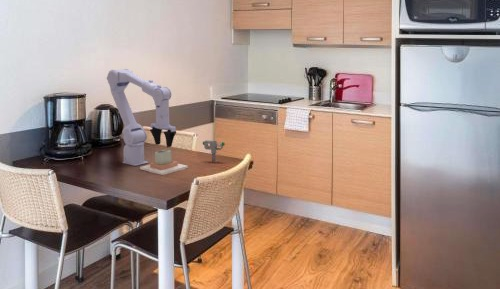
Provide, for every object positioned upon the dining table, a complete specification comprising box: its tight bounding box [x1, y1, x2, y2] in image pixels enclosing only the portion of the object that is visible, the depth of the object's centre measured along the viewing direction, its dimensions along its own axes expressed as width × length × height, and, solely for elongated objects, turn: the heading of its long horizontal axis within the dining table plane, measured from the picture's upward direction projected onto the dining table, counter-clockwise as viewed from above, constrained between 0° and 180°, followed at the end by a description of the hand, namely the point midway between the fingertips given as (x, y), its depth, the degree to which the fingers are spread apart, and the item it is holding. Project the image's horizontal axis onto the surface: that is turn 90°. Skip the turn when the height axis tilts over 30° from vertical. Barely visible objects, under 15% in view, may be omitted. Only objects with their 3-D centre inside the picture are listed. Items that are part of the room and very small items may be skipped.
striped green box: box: [154, 149, 172, 165], centre depth 201 cm, size 6×4×7 cm, turn 142°
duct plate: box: [139, 159, 189, 176], centre depth 202 cm, size 15×15×3 cm
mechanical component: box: [202, 140, 226, 163], centre depth 214 cm, size 3×10×10 cm, turn 78°
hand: (163, 145), depth 201 cm, fingers open, 7 cm apart
